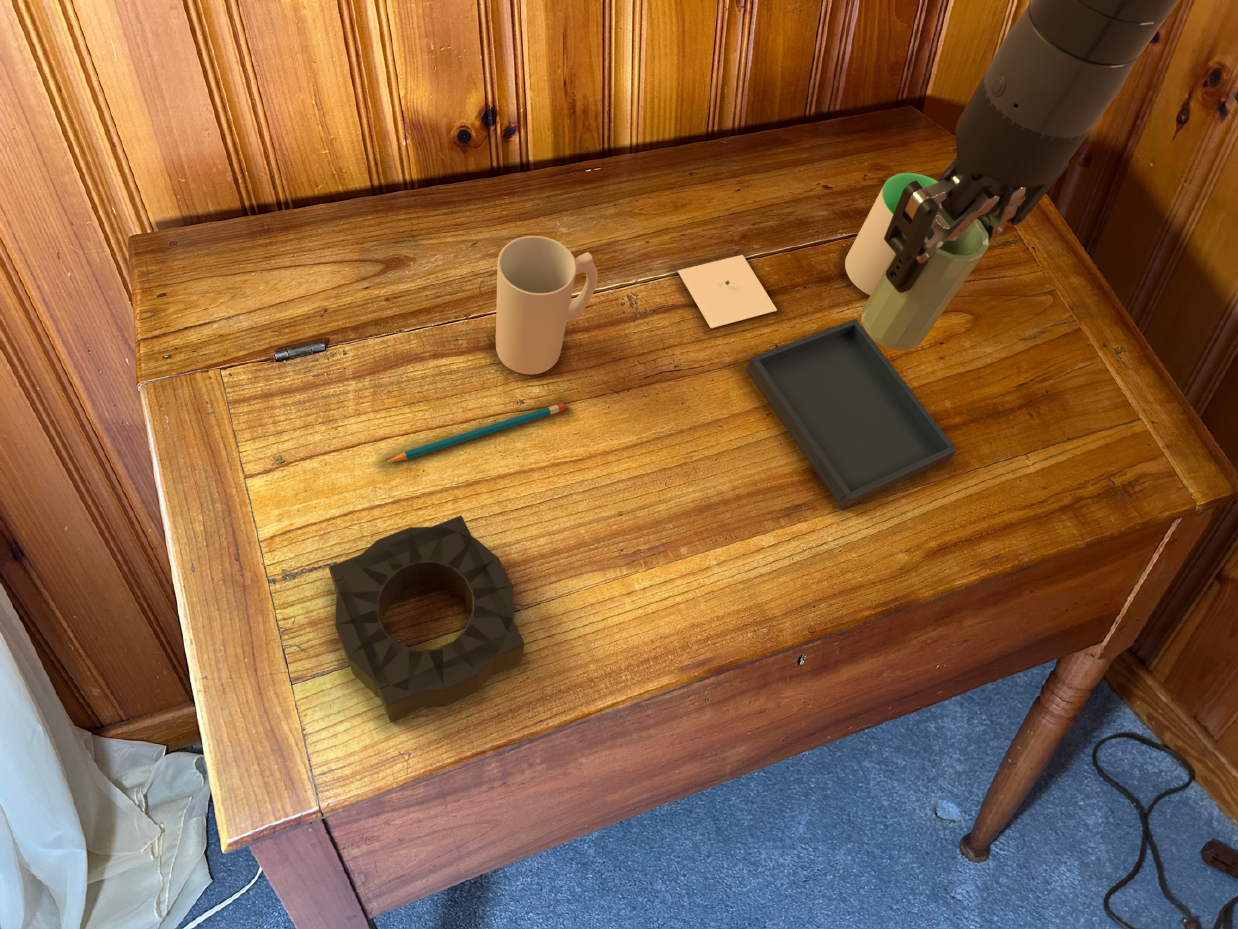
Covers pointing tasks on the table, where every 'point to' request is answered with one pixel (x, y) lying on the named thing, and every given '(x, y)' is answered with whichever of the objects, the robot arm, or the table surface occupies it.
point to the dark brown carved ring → (403, 565)
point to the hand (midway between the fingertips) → (927, 272)
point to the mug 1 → (538, 301)
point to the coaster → (726, 291)
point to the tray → (849, 412)
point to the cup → (923, 290)
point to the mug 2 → (878, 234)
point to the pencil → (478, 432)
